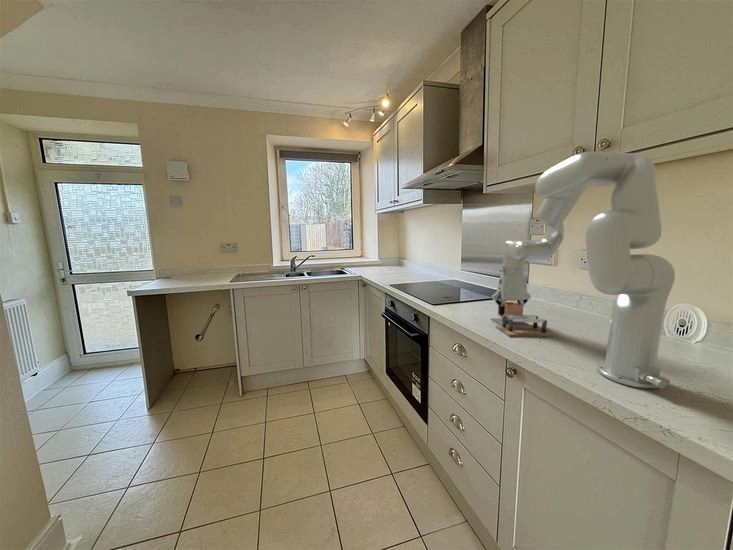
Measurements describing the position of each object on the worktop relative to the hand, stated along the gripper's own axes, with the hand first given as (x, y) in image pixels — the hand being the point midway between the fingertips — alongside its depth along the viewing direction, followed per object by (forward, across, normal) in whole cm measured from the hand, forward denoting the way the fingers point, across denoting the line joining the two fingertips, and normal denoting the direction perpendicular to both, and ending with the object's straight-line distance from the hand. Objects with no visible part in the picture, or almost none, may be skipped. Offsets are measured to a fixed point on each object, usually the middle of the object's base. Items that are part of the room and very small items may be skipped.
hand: (510, 314), depth 118 cm
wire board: (+3, 0, -10) cm, 11 cm away
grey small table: (+3, 0, -10) cm, 11 cm away
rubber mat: (+3, 0, 0) cm, 3 cm away
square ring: (+1, 0, 0) cm, 1 cm away
